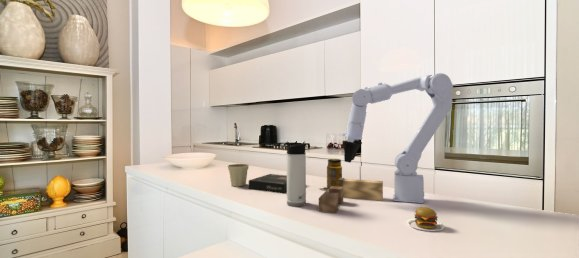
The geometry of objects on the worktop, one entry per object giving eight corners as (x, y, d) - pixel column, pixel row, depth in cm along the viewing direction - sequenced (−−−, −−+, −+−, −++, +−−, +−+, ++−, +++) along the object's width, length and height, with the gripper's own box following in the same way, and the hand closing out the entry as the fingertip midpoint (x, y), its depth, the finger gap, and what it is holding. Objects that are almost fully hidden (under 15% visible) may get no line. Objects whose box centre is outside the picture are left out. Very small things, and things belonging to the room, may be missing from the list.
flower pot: (225, 184, 131) (224, 164, 131) (245, 182, 135) (245, 163, 135) (230, 188, 122) (230, 167, 122) (252, 186, 126) (252, 165, 126)
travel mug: (305, 207, 95) (305, 144, 94) (285, 206, 96) (284, 144, 96) (308, 201, 101) (307, 142, 101) (289, 201, 102) (288, 142, 102)
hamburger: (409, 217, 86) (409, 198, 86) (456, 226, 78) (456, 206, 78) (393, 229, 77) (393, 208, 77) (445, 241, 69) (445, 217, 69)
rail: (382, 198, 106) (382, 180, 105) (382, 200, 102) (382, 182, 102) (340, 194, 111) (340, 177, 110) (338, 197, 107) (338, 179, 107)
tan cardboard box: (343, 201, 101) (343, 186, 101) (335, 213, 89) (335, 196, 88) (328, 200, 103) (328, 185, 103) (318, 211, 90) (318, 194, 90)
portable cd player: (303, 185, 128) (303, 176, 128) (284, 194, 113) (284, 184, 113) (270, 182, 136) (270, 173, 136) (248, 190, 121) (248, 180, 121)
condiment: (346, 189, 120) (346, 159, 120) (333, 192, 114) (333, 161, 114) (332, 186, 125) (332, 157, 125) (318, 189, 120) (318, 159, 119)
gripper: (348, 122, 115) (341, 156, 116) (341, 121, 101) (334, 160, 102) (366, 125, 112) (359, 160, 113) (362, 125, 99) (355, 165, 100)
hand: (349, 160), depth 107 cm, fingers open, 7 cm apart
